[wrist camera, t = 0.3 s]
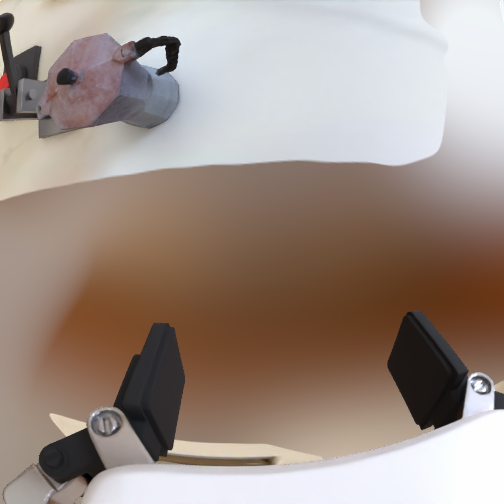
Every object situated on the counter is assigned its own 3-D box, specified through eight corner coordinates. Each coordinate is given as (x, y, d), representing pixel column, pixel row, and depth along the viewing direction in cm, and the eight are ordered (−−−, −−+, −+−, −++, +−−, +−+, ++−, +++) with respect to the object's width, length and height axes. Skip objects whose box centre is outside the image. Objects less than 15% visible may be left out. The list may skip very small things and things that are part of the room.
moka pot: (97, 95, 32) (6, 79, 13) (191, 46, 30) (148, -23, 12) (117, 148, 35) (26, 164, 17) (214, 102, 34) (184, 64, 15)
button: (5, 76, 25) (-1, 76, 23) (17, 69, 25) (11, 69, 23) (3, 94, 26) (-3, 94, 25) (15, 88, 26) (9, 88, 25)
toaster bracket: (44, 82, 29) (-6, 76, 18) (85, 68, 30) (36, 52, 18) (42, 138, 33) (-10, 145, 21) (83, 127, 33) (31, 129, 22)
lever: (2, 17, 12) (-14, 23, 10) (17, 6, 12) (1, 11, 10) (20, 107, 23) (7, 117, 21) (35, 100, 23) (21, 111, 21)
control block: (10, 63, 26) (-2, 61, 23) (41, 46, 26) (30, 43, 23) (5, 120, 31) (-7, 121, 27) (35, 107, 31) (22, 107, 28)
